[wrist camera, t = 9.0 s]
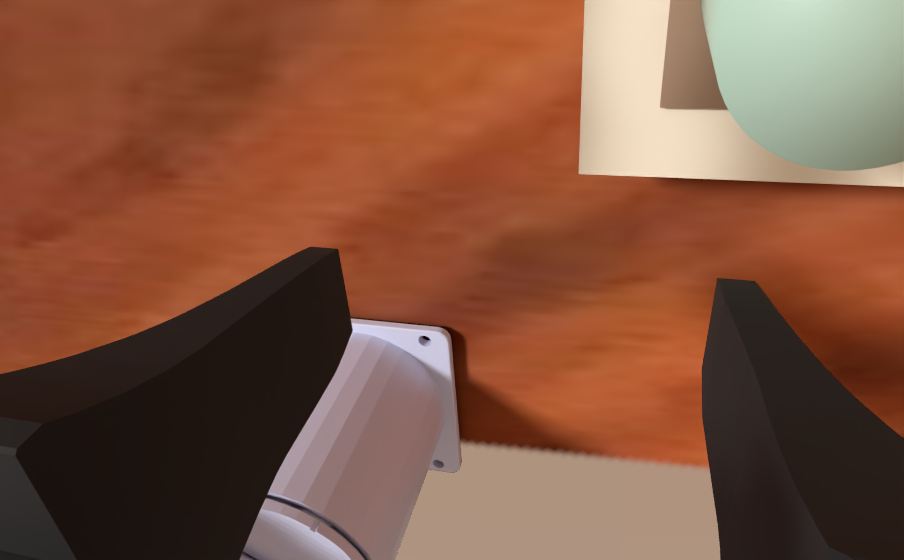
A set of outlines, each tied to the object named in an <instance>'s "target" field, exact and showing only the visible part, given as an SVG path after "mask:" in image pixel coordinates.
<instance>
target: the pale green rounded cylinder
mask: <svg viewBox="0 0 904 560" xmlns="http://www.w3.org/2000/svg"><path fill="white" fill-rule="evenodd" d="M700 5H701V12H702V17H703V22H704V26H705V30H706V35H707V39H708V43H709V47H710V52H711V56H712V60H713V65H714V69H715V73H716V77H717V82H718V86H719V89H720V92H721V95H722V97H723V100H724V103H725V105H726V106H727V108H728V110H729V112H730V114H731V115H732V117H733V119H734V120H735V121H736V122H737V124H738V125H739V126H740V128H741V129H742V130H743V131H744V132H745V133H746V134H747V135H748V136H749V137H750V138H751V139H752V140H753V141H754V142H756V143H757V144H759V145H760V146H761V147H763V148H764V149H766V150H767V151H769V152H770V153H772V154H774V155H776V156H778V157H780V158H782V159H784V160H787V161H790V162H793V163H796V164H799V165H802V166H807V167H812V168H816V169H824V170H835V171H852V170H864V169H872V168H879V167H883V166H888V165H892V164H896V163H900V162H903V161H904V0H700Z"/></svg>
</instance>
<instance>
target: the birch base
mask: <svg viewBox="0 0 904 560" xmlns="http://www.w3.org/2000/svg"><path fill="white" fill-rule="evenodd" d="M579 174H594V175H619V176H644V177H669V178H694V179H719V180H744V181H770V182H795V183H820V184H845V185H870V186H895V187H904V161H903V162H900V163H896V164H892V165H888V166H883V167H879V168H872V169H864V170H852V171H835V170H824V169H816V168H812V167H807V166H802V165H799V164H796V163H793V162H790V161H787V160H784V159H782V158H780V157H778V156H776V155H774V154H772V153H770V152H769V151H767V150H766V149H764V148H763V147H761V146H760V145H759V144H757V143H756V142H754V141H753V140H752V139H751V138H750V137H749V136H748V135H747V134H746V133H745V132H744V131H743V130H742V129H741V128H740V126H739V125H738V124H737V122H736V121H735V120H734V119H733V117H732V115H731V114H730V112H729V110H728V108H727V106H726V105H725V103H724V100H723V97H722V95H721V92H720V89H719V86H718V82H717V77H716V73H715V69H714V65H713V60H712V56H711V52H710V47H709V43H708V39H707V35H706V30H705V26H704V22H703V17H702V12H701V5H700V0H585V11H584V39H583V68H582V96H581V124H580V153H579Z"/></svg>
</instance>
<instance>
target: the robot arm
mask: <svg viewBox="0 0 904 560" xmlns="http://www.w3.org/2000/svg"><path fill="white" fill-rule="evenodd" d="M422 336H427V337H428V338H429V339H430V340H425V339H424V338H423V337H422ZM702 417H703V425H704V432H705V439H706V447H707V454H708V461H709V467H710V474H711V481H712V488H713V494H714V501H715V508H716V515H717V522H718V531H719V542H720V554H721V555H720V557H721V560H904V438H902V437H901V436H900V435H899V434H897V433H896V432H895V431H894V430H892V429H891V428H890V427H889V426H888V425H886V424H885V423H884V422H883V421H882V420H881V419H879V418H878V417H877V416H876V415H875V414H874V413H872V412H871V411H870V410H869V409H868V408H867V407H865V406H864V405H863V404H862V403H861V402H860V401H859V400H858V399H856V398H855V397H854V396H853V395H852V394H851V393H850V392H849V391H848V390H847V389H846V388H845V387H844V386H843V385H842V384H841V383H840V382H839V381H838V380H837V379H836V378H835V377H834V376H833V375H832V374H831V373H830V372H829V371H828V370H827V369H826V368H825V367H824V366H823V365H822V363H821V362H820V361H819V360H818V359H817V358H816V357H815V356H814V354H813V353H812V352H811V351H810V350H809V349H808V347H807V346H806V345H805V344H804V343H803V342H802V340H801V339H800V338H799V337H798V336H797V334H796V333H795V332H794V331H793V330H792V328H791V327H790V326H789V325H788V323H787V322H786V321H785V319H784V318H783V317H782V316H781V314H780V313H779V312H778V310H777V309H776V308H775V306H774V305H773V304H772V302H771V301H770V300H769V298H768V297H767V296H766V294H765V293H764V292H763V290H762V289H761V288H760V287H759V285H758V284H757V283H756V282H755V281H746V280H733V279H721V278H717V284H716V290H715V295H714V301H713V307H712V313H711V319H710V324H709V330H708V336H707V342H706V348H705V353H704V359H703V365H702ZM438 460H440V461H438ZM441 461H442V462H441ZM461 462H462V460H461V448H460V436H459V424H458V412H457V401H456V389H455V377H454V365H453V353H452V342H451V336H450V334H449V333H448V331H446V330H445V329H443V328H440V327H433V326H423V325H413V324H403V323H393V322H382V321H372V320H362V319H352V318H351V317H350V312H349V307H348V301H347V296H346V290H345V285H344V279H343V274H342V268H341V263H340V257H339V252H338V249H332V248H319V247H309V248H307V249H304V250H302V251H300V252H298V253H296V254H294V255H292V256H290V257H288V258H286V259H284V260H282V261H281V262H279V263H277V264H275V265H273V266H272V267H270V268H268V269H266V270H265V271H263V272H261V273H259V274H257V275H256V276H254V277H252V278H250V279H248V280H247V281H245V282H243V283H241V284H239V285H238V286H236V287H234V288H232V289H230V290H229V291H227V292H225V293H223V294H221V295H219V296H217V297H215V298H213V299H211V300H209V301H207V302H205V303H203V304H201V305H199V306H197V307H195V308H193V309H191V310H189V311H187V312H186V313H183V314H181V315H179V316H177V317H175V318H173V319H170V320H168V321H166V322H164V323H161V324H159V325H157V326H154V327H152V328H149V329H147V330H144V331H142V332H140V333H137V334H135V335H132V336H129V337H127V338H124V339H121V340H118V341H115V342H112V343H109V344H106V345H103V346H100V347H97V348H94V349H91V350H89V351H86V352H83V353H80V354H77V355H73V356H70V357H66V358H63V359H59V360H56V361H52V362H49V363H45V364H41V365H37V366H33V367H29V368H25V369H21V370H17V371H13V372H8V373H4V374H0V560H395V559H396V556H397V553H398V550H399V548H400V545H401V542H402V539H403V537H404V534H405V531H406V528H407V526H408V522H409V520H410V517H411V515H412V512H413V509H414V506H415V503H416V501H417V498H418V495H419V492H420V490H421V487H422V484H423V481H424V479H425V476H426V473H427V471H428V469H430V470H437V471H444V472H452V473H453V472H457V471H458V470H459V469H460V466H461Z"/></svg>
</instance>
